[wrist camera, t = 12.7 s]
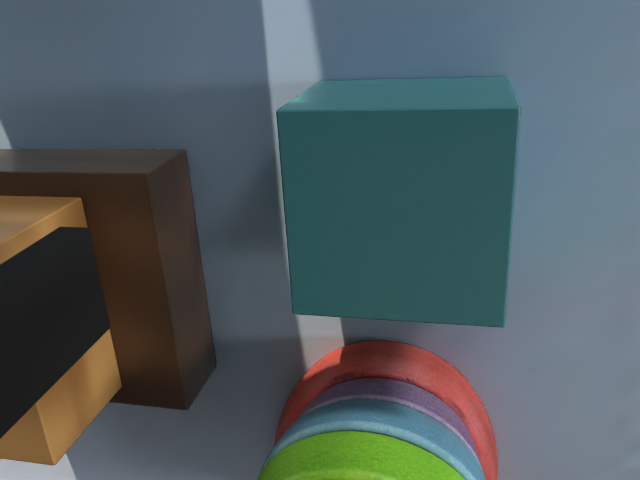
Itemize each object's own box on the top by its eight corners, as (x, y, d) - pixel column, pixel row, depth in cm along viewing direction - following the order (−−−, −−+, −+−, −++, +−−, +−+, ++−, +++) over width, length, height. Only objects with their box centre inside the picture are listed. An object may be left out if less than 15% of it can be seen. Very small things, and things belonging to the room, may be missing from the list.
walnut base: (-32, 149, 28) (-94, 170, 25) (186, 149, 26) (147, 173, 23) (25, 349, 32) (-22, 388, 29) (216, 366, 30) (187, 410, 27)
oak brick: (-26, 194, 25) (-135, 241, 20) (82, 197, 24) (-8, 247, 19) (26, 376, 28) (-57, 451, 24) (123, 386, 27) (55, 466, 23)
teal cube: (318, 80, 23) (275, 110, 18) (507, 75, 22) (520, 106, 16) (328, 246, 26) (292, 314, 21) (496, 252, 24) (504, 328, 19)
